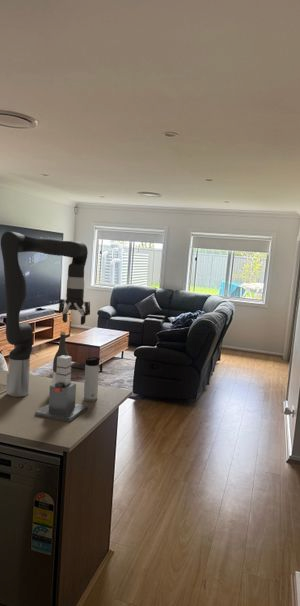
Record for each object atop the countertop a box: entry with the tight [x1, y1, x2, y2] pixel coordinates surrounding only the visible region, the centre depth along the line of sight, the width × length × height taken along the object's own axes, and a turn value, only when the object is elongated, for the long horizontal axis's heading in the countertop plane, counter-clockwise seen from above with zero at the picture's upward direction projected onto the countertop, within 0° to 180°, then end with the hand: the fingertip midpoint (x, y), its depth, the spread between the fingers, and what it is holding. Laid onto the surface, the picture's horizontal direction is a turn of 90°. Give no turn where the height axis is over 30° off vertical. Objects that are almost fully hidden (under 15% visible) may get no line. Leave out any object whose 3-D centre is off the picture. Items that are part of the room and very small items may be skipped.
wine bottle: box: [51, 330, 70, 385], centre depth 199 cm, size 8×8×30 cm
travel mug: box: [83, 356, 101, 402], centre depth 192 cm, size 6×7×20 cm
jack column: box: [56, 355, 72, 387], centre depth 174 cm, size 5×5×18 cm
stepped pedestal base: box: [34, 382, 88, 423], centre depth 175 cm, size 16×16×13 cm
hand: (73, 323), depth 185 cm, fingers open, 8 cm apart
